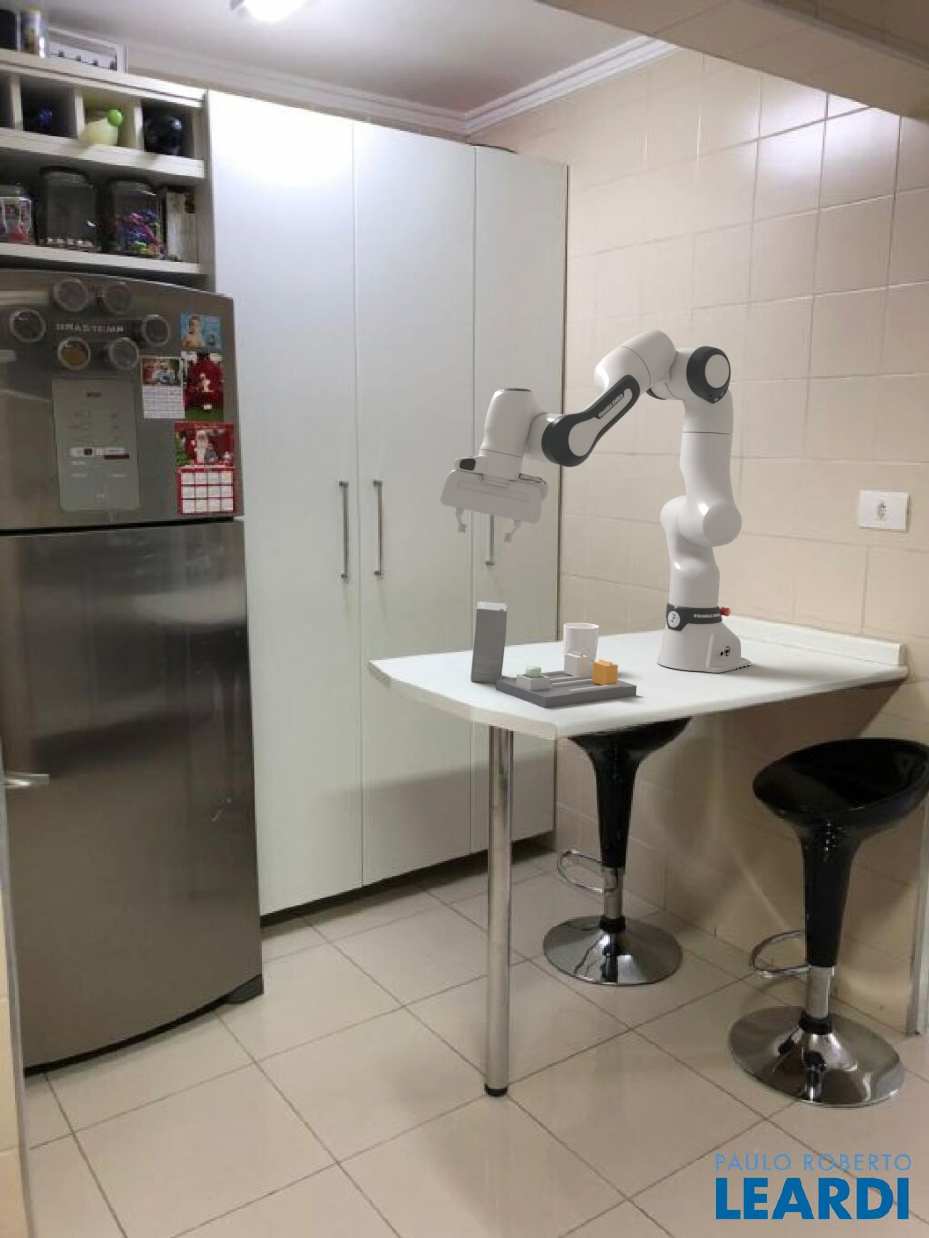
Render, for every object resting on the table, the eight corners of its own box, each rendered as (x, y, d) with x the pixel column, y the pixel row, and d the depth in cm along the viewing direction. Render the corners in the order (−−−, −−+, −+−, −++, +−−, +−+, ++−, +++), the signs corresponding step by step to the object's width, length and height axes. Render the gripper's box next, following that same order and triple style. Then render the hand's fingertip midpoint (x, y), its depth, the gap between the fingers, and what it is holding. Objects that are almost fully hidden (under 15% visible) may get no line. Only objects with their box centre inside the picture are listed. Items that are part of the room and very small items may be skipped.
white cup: (592, 675, 218) (594, 629, 216) (557, 671, 220) (559, 626, 219) (600, 668, 225) (602, 624, 223) (566, 664, 228) (568, 621, 226)
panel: (584, 678, 213) (585, 659, 213) (636, 695, 200) (637, 674, 199) (496, 689, 201) (497, 669, 200) (544, 707, 188) (546, 686, 187)
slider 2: (603, 680, 202) (604, 658, 201) (616, 684, 199) (618, 661, 198) (592, 681, 200) (593, 659, 200) (605, 685, 197) (606, 663, 196)
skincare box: (471, 673, 215) (473, 600, 212) (504, 674, 214) (507, 602, 212) (470, 682, 206) (472, 606, 204) (504, 683, 206) (507, 608, 204)
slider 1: (575, 671, 210) (576, 650, 209) (587, 675, 206) (588, 653, 205) (564, 672, 208) (565, 651, 207) (576, 676, 205) (577, 654, 204)
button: (534, 675, 197) (535, 665, 197) (543, 678, 195) (544, 668, 194) (522, 677, 196) (522, 667, 195) (531, 680, 193) (532, 670, 193)
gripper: (550, 479, 200) (535, 547, 201) (450, 459, 201) (437, 527, 203) (549, 478, 194) (535, 548, 195) (447, 457, 195) (433, 527, 197)
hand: (484, 537), depth 199 cm, fingers open, 8 cm apart
